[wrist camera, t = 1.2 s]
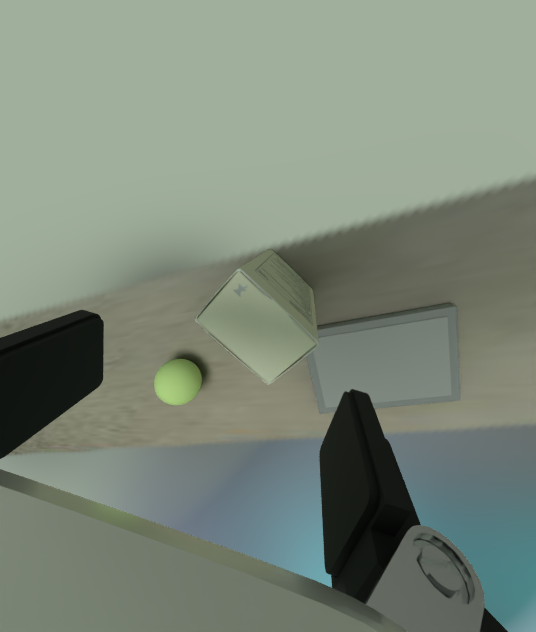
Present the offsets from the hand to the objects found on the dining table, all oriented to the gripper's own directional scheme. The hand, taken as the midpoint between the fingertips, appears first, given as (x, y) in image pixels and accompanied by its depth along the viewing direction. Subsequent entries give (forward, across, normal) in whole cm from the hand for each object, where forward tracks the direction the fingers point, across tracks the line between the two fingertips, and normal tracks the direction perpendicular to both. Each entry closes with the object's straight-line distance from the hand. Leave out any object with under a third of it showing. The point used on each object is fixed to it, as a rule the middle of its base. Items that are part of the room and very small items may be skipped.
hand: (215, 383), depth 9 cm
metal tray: (+17, -12, +5) cm, 22 cm away
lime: (+17, +8, +13) cm, 23 cm away
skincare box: (+18, 0, 0) cm, 18 cm away
